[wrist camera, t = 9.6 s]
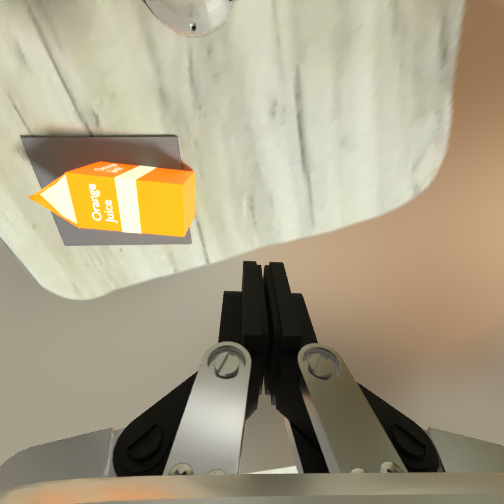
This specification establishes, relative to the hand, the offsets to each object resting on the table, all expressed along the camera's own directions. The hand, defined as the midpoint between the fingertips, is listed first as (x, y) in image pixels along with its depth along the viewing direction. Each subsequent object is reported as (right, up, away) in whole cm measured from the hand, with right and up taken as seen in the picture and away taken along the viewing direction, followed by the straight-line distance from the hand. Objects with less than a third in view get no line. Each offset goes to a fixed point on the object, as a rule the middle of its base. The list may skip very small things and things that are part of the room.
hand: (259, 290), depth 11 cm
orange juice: (-10, +9, +27) cm, 30 cm away
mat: (-23, +11, +31) cm, 40 cm away
